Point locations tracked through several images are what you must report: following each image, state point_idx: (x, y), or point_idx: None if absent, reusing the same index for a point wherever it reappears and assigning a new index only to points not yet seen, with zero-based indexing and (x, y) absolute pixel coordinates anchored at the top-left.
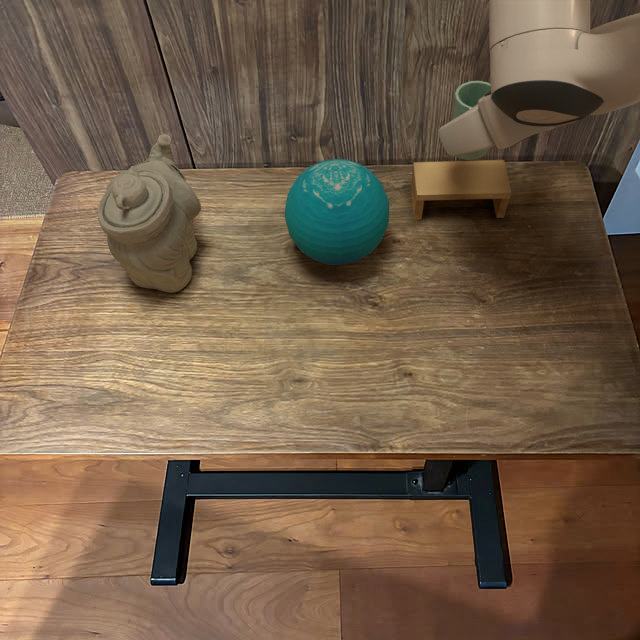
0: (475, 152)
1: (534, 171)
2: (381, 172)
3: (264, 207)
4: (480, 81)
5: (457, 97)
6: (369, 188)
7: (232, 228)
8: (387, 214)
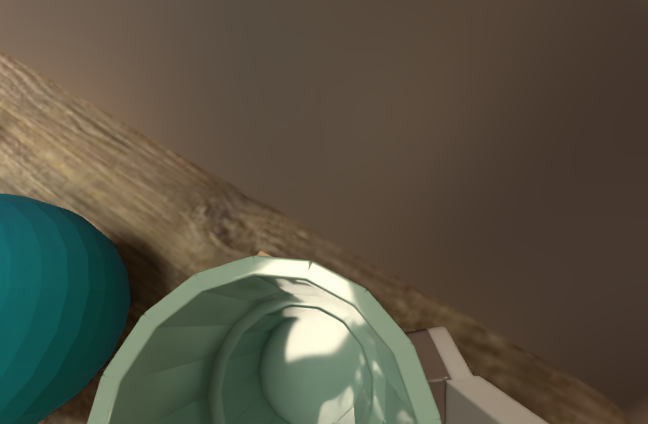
0: None
1: (527, 367)
2: (259, 205)
3: (68, 177)
4: (370, 305)
5: (120, 361)
6: None
7: (6, 189)
8: (7, 420)
